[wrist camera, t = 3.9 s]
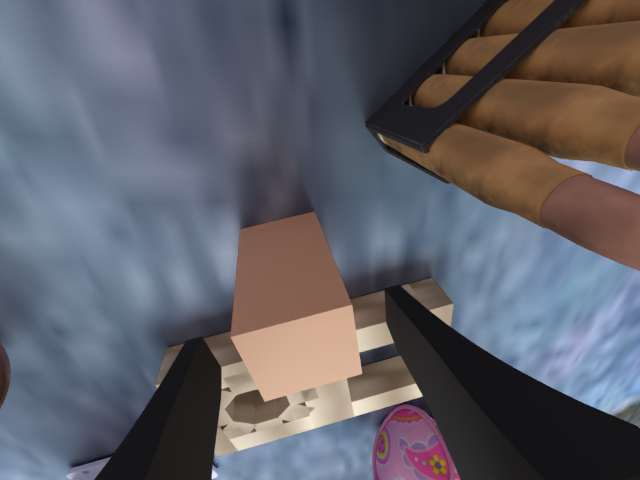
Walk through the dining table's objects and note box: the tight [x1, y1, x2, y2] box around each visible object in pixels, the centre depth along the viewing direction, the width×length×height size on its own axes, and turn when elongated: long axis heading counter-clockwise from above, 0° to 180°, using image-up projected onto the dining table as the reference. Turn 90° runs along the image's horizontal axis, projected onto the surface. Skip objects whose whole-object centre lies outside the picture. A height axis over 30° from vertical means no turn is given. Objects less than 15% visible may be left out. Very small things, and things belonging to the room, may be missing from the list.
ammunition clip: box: [366, 0, 640, 271], centre depth 7 cm, size 11×2×12 cm, turn 133°
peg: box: [231, 211, 362, 402], centre depth 13 cm, size 4×4×7 cm
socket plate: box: [155, 278, 454, 457], centre depth 20 cm, size 18×10×2 cm, turn 100°
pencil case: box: [373, 404, 460, 480], centre depth 29 cm, size 21×9×9 cm, turn 51°
